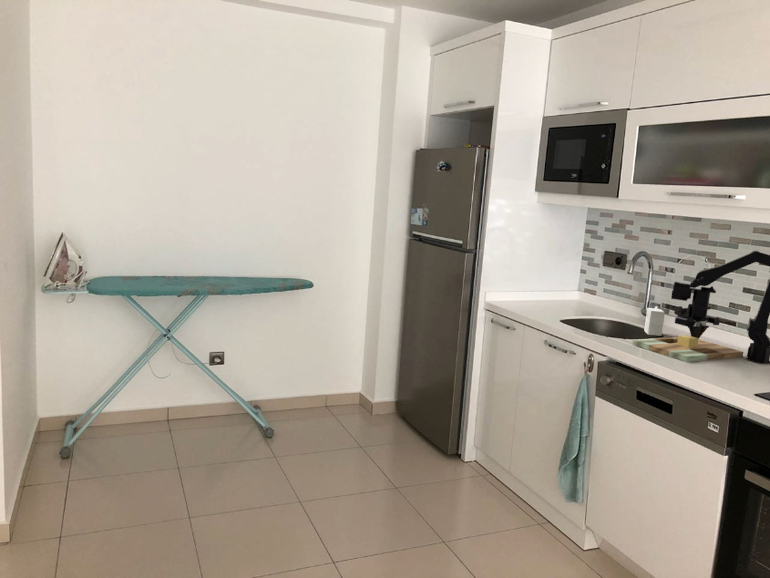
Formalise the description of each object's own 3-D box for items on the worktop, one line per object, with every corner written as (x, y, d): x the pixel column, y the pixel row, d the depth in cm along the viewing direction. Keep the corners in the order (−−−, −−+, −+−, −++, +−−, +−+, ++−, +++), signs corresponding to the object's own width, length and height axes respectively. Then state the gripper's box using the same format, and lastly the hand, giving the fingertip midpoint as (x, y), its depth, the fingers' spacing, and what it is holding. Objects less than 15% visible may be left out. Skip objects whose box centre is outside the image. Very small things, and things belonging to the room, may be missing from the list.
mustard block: (697, 347, 239) (698, 338, 239) (688, 347, 237) (689, 338, 236) (685, 343, 243) (687, 335, 243) (676, 344, 241) (678, 335, 241)
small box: (661, 336, 265) (665, 312, 263) (647, 334, 266) (651, 310, 264) (657, 332, 272) (660, 308, 271) (643, 331, 273) (647, 307, 272)
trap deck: (742, 356, 238) (743, 351, 237) (686, 362, 223) (687, 356, 223) (687, 341, 259) (688, 336, 258) (632, 344, 244) (633, 339, 244)
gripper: (697, 298, 251) (691, 336, 253) (665, 299, 242) (659, 338, 245) (723, 304, 241) (717, 343, 243) (690, 305, 232) (684, 345, 235)
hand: (694, 342), depth 242 cm, fingers closed
